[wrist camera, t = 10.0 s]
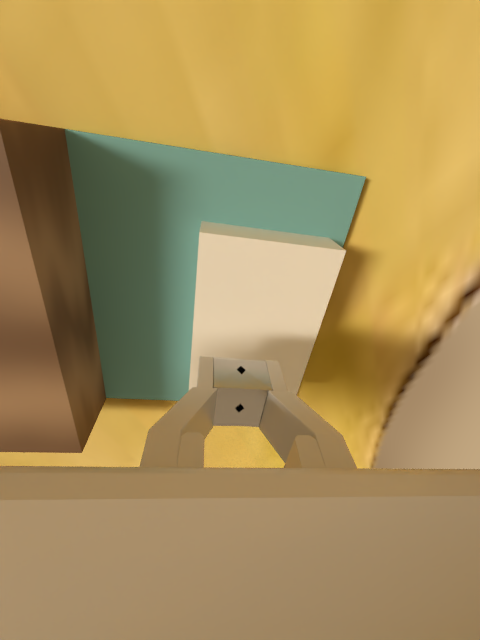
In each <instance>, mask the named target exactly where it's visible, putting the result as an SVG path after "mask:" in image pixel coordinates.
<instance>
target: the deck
mask: <svg viewBox="0 0 480 640" xmlns="http://www.w3.org/2000/svg"><path fill="white" fill-rule="evenodd" d="M105 399H106V393H105V387H104V380H103V374H102V368H101V361H100V355H99V348H98V342H97V335H96V329H95V322H94V316H93V309H92V303H91V296H90V290H89V283H88V277H87V270H86V264H85V258H84V251H83V245H82V238H81V232H80V225H79V219H78V212H77V206H76V199H75V193H74V186H73V180H72V173H71V167H70V160H69V154H68V147H67V141H66V135H65V129H62V128H55V127H49V126H43V125H36V124H30V123H24V122H17V121H11V120H5V119H0V452H57V453H82V451H83V449H84V447H85V445H86V442H87V440H88V438H89V436H90V433H91V431H92V429H93V427H94V424H95V422H96V420H97V417H98V415H99V413H100V411H101V408H102V406H103V404H104V402H105Z"/></svg>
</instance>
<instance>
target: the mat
mask: <svg viewBox="0 0 480 640" xmlns="http://www.w3.org/2000/svg"><path fill="white" fill-rule="evenodd" d="M65 135H66V141H67V147H68V154H69V160H70V167H71V173H72V180H73V186H74V193H75V199H76V206H77V212H78V219H79V225H80V232H81V238H82V245H83V251H84V258H85V264H86V270H87V277H88V283H89V290H90V296H91V303H92V309H93V316H94V322H95V329H96V335H97V342H98V348H99V355H100V361H101V368H102V374H103V380H104V387H105V393H106V398H122V399H148V400H175V401H179V400H180V399H181V398H182V397H183V396H184V395H185V394H186V393H187V392H188V391H189V378H190V363H191V349H192V334H193V319H194V304H195V289H196V275H197V260H198V245H199V231H200V227H201V222H202V221H206V222H213V223H221V224H228V225H236V226H244V227H251V228H259V229H266V230H274V231H281V232H289V233H297V234H304V235H312V236H319V237H327V238H330V239H332V240H333V241H334V242H335V243H337V244H338V245H339V246H341V247H342V248H343V245H344V242H345V239H346V236H347V233H348V230H349V227H350V224H351V221H352V218H353V215H354V212H355V209H356V206H357V203H358V200H359V197H360V194H361V191H362V188H363V185H364V182H365V179H366V177H364V176H357V175H351V174H345V173H338V172H332V171H326V170H320V169H313V168H307V167H301V166H294V165H288V164H282V163H275V162H269V161H263V160H257V159H250V158H244V157H238V156H231V155H225V154H219V153H213V152H206V151H200V150H194V149H187V148H181V147H175V146H169V145H162V144H156V143H150V142H143V141H137V140H131V139H124V138H118V137H112V136H106V135H99V134H93V133H87V132H80V131H74V130H68V129H65Z"/></svg>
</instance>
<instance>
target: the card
mask: <svg viewBox="0 0 480 640" xmlns="http://www.w3.org/2000/svg"><path fill="white" fill-rule="evenodd" d="M345 253H346V250H345V249H343V248H342V247H341V246H339V245H338V244H337V243H335V242H334V241H333V240H332V239H330V238H327V237H319V236H312V235H304V234H297V233H289V232H281V231H274V230H266V229H259V228H251V227H244V226H236V225H228V224H221V223H213V222H206V221H202V222H201V227H200V231H199V245H198V260H197V275H196V289H195V304H194V319H193V334H192V349H191V363H190V378H189V390H190V389H191V388H192V387H197V379H198V367H199V357H200V356H205V357H220V358H232V359H244V360H263V361H265V360H272V361H278V362H279V364H280V367H281V370H282V374H283V377H284V380H285V383H286V386H287V390H288V391H292V392H293V393H294V394H295V395H297V392H298V389H299V387H300V384H301V381H302V378H303V375H304V372H305V369H306V366H307V363H308V361H309V358H310V355H311V352H312V349H313V346H314V343H315V340H316V337H317V334H318V332H319V329H320V326H321V323H322V320H323V317H324V314H325V311H326V308H327V305H328V303H329V300H330V297H331V294H332V291H333V288H334V285H335V282H336V279H337V276H338V274H339V271H340V268H341V265H342V262H343V259H344V256H345Z"/></svg>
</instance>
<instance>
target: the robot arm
mask: <svg viewBox="0 0 480 640" xmlns="http://www.w3.org/2000/svg"><path fill="white" fill-rule="evenodd" d="M213 426H252V427H259V429H260V430H261V431H262V433H263V434H264V435H265V437H266V438H267V439H268V441H269V442H270V443H271V445H272V446H273V447H274V449H275V450H276V451H277V453H278V454H279V456H280V457H281V458H282V460H283V461H284V462H285V466H284V468H204V439H205V438H206V437H207V435H208V434H209V432H210V431H211V429H212V428H213ZM0 640H480V469H357V467H356V465H355V463H354V460H353V458H352V456H351V454H350V451H349V449H348V447H347V445H346V442H345V440H344V438H343V436H342V435H341V434H340V433H339V432H338V431H337V430H336V429H335V428H333V427H332V426H331V425H330V424H329V423H328V422H326V421H325V420H324V419H323V418H322V417H321V416H319V415H318V414H317V413H316V412H315V411H314V410H313V409H311V408H310V407H309V406H308V405H307V404H306V403H304V402H303V401H302V400H301V399H300V398H299V397H298V396H296V395H295V394H294V393H293V392H292V391H288V390H287V386H286V383H285V380H284V377H283V374H282V370H281V367H280V364H279V362H278V361H272V360H265V361H263V360H244V359H232V358H220V357H205V356H200V357H199V367H198V379H197V387H192V388H191V389H190V390H189V391H188V392H187V393H186V394H185V395H184V396H183V397H182V398H181V399H180V400H179V401H178V402H177V403H176V404H175V405H174V406H173V407H172V408H171V409H170V410H169V411H168V412H167V413H166V414H165V415H164V416H163V417H162V418H161V419H160V420H159V421H158V422H157V423H156V424H155V425H154V426H152V427H151V428H150V429H149V431H148V435H147V439H146V443H145V447H144V451H143V455H142V459H141V463H140V467H45V466H0Z"/></svg>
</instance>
